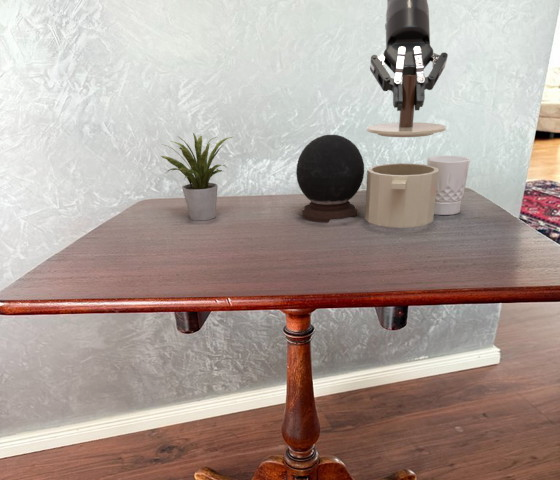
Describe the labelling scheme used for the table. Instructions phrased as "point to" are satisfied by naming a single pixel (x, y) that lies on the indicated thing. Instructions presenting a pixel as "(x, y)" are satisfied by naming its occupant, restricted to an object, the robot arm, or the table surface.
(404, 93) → the lid
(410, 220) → the pot
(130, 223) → the table surface
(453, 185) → the white cup
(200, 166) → the house plant
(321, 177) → the black ball on stand
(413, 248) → the table surface
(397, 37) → the robot arm
